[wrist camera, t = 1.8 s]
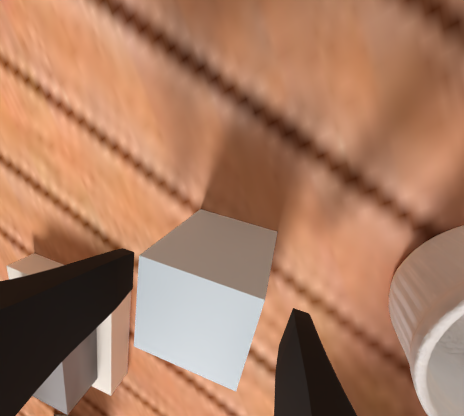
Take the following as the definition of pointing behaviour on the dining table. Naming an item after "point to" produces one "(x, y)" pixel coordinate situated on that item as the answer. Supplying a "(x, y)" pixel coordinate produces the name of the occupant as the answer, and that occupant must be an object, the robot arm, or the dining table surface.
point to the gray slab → (71, 377)
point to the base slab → (108, 332)
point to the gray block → (204, 294)
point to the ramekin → (433, 320)
